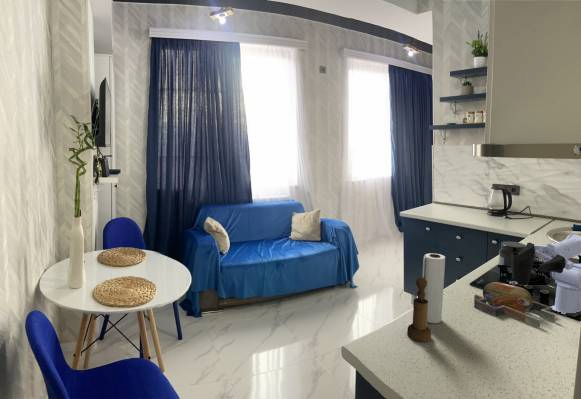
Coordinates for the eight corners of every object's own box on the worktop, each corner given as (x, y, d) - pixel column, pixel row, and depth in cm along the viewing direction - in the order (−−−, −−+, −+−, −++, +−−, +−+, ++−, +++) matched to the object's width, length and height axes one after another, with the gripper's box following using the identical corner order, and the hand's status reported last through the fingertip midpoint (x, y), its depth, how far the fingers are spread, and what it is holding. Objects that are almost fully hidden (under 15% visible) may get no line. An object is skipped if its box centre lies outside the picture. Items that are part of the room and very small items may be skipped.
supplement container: (530, 275, 161) (533, 247, 159) (505, 275, 161) (508, 247, 160) (516, 266, 172) (519, 240, 170) (493, 266, 172) (495, 240, 170)
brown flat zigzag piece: (497, 294, 142) (497, 288, 141) (561, 318, 122) (562, 311, 122) (466, 303, 134) (467, 297, 133) (530, 331, 114) (531, 323, 114)
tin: (481, 303, 134) (483, 280, 133) (484, 300, 137) (486, 278, 135) (530, 317, 124) (532, 292, 122) (532, 313, 126) (535, 289, 125)
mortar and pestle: (434, 336, 112) (437, 277, 109) (425, 344, 107) (428, 284, 105) (413, 328, 117) (415, 272, 114) (403, 336, 112) (405, 278, 109)
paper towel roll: (438, 315, 125) (442, 252, 122) (443, 324, 119) (447, 258, 116) (415, 314, 126) (418, 252, 122) (420, 323, 120) (423, 258, 116)
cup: (534, 288, 147) (537, 258, 145) (513, 287, 148) (515, 257, 146) (526, 281, 154) (529, 252, 152) (506, 279, 156) (508, 251, 154)
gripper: (540, 231, 127) (509, 242, 123) (585, 250, 114) (552, 262, 110) (537, 250, 130) (507, 261, 126) (581, 270, 117) (549, 282, 113)
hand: (528, 262), depth 118 cm, fingers open, 7 cm apart
